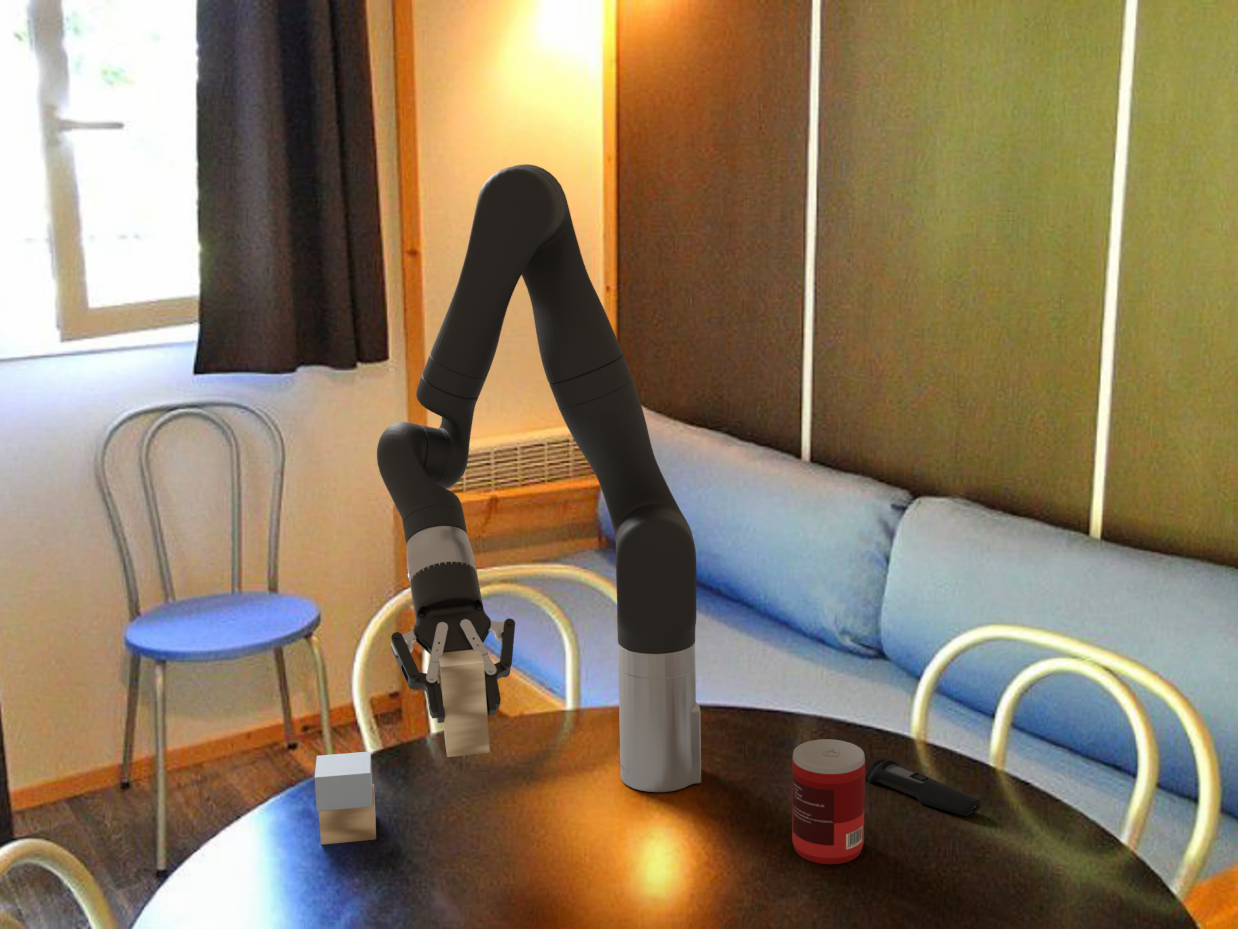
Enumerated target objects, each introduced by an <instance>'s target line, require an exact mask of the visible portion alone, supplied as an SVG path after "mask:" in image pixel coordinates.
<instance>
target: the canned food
mask: <svg viewBox="0 0 1238 929" xmlns="http://www.w3.org/2000/svg"><path fill="white" fill-rule="evenodd" d="M791 770H792V771H791V773H792V774H791V777H792V779H791V780H792V783H791V784H792V785H791V788H792V790H791V793H792V794H791V795H792V796H791V797H792V798H791V800H792V803H791V804H792V807H791V809H792V812H791V813H792V814H791V815H792V820H791V822H792V823H791V824H792V826H791V827H792V829H791V830H792V831H791V832H792V834H791V835H792V838H791V839H792V845H793V848H794V850H795V852H796V854H798V856H799V857H801V858H802V859H804V860H805V861H806V860H807V861H809V862H811V863H815V864H821V865H840V864H845V863H848V862H851V861H853V860H855V859H856V858H858V857H859V856H860V854H862V850H863V846H864V844H865V843H864V842H865V798H866V797H865V796H866V794H865V792H866V791H865V789H866V788H865V787H866V779H865V775H866V759H865V752H864V750H863V749H862V748H861V747H860V746H858V745H856V744H855V743H854V744H853V743H852V742H848V741H844V740H839V739H834V738H833V739H829V738H828V739H827V738H825V739H824V738H823V739H814V740H809V741H805V742H803V743H801V744H799V745H797V746H796V747H795V748H794V749H793V752H792V768H791Z"/></svg>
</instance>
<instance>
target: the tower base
mask: <svg viewBox="0 0 1238 929" xmlns="http://www.w3.org/2000/svg"><path fill="white" fill-rule="evenodd" d="M375 798H376V797H375V784H373V783H372V807H363V808H352V809H340V810H329V811H318V817H319V818H318V819H319V832H320V833H319V834H320V835H319V836H320V845H331V844H341V843H350V842H352V843H353V842H363V841H372V840H377V819H376V818H377V816H376V814H377V813H376V799H375Z"/></svg>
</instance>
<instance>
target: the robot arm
mask: <svg viewBox="0 0 1238 929" xmlns="http://www.w3.org/2000/svg"><path fill="white" fill-rule="evenodd" d="M566 196H567V195H566V193H565V192H564V189H563V186H562V184H561V183H560V182H559V181H558V179H557V178H556V177H555V176H554V175H553V174H552V173H551V171H550V172H549V171H548V170H546V169H544V168H543V167H541V166H538V165H535V164H525V163H524V164H516V165H514V166H510V167H506V168H502V169H500V170H499V171H496V172H495V173H493V174H492V175H491V176H489V177H488V179H487V180H485V182H484V183H483V185H482V187H481V188H480V190H479V192H478V197H477V201H476V206H475V210H474V215H473V219H472V220H473V221H472V225H471V229H470V235H469V238H468V239H469V240H468V244H467V250H466V253H465V257H464V261H463V265H462V268H461V272H460V275H459V279H458V281H457V284H456V288H455V290H454V293H453V296H452V299H451V302H450V303H449V306H448V309H447V310H446V314H445V316H444V319H443V322H442V324H441V325H440V328H439V331H438V333H437V335H436V338H435V340H434V343H433V346H432V348H431V351H430V353H429V356H428V358H427V361H426V363H425V366H424V368H423V371H422V373H421V376H420V379H419V381H418V384H417V388H416V395H415V396H416V399H417V402H419V404H420V405H421V406H423V407H424V408H425V409H426V410H428V411H430V412H431V413H434V414H436V415H438V416H439V417H441V421H440V425H439V427H433V426H427V425H424V424H422V425H421V424H417V423H413V422H407V421H399V422H398V421H397V422H395V423H392V424H391V425H389V426H387V427H386V428H385V430H384V431H382V434H381V435H380V437H379V439H378V442H377V446H376V462H377V466H378V470H379V474H380V476H381V479H382V481H383V483H384V486H385V487H386V489H387V491H388V493H389V495H390V498H391V500H392V501H393V503H394V506H395V508H396V510H397V511H398V513H399V515H400V517H401V519H402V520H401V521H402V528H403V533H404V539H405V545H406V546H405V547H406V567H407V573H408V574H407V579H408V582H409V585H410V586H409V587H410V595H411V600H412V605H413V612H414V613H413V614H414V618H415V624H414V626H413V630H411V631H408V632H405V633H401V632H399V631H397V632H392V634H391V637H390V638H391V639H390V640H391V641H390V649H391V651H392V653H393V656H394V658H395V661H396V662H397V664H398V667H399V669H400V672H401V673H402V676H403V679H404V680H405V682H406V684H407V687H408V688H409V689H411V690H416V689H420V690H423V691H425V693H426V697H427V705H428V711H429V715H430V717H431V719H436V722H437V724H444V719H445V710H444V707H443V698H442V692H441V682H439V678H440V664H439V656H441V655H442V654H443V653H445V652H455V651H465V650H474V651H480V650H481V653H482V657H483V662H484V674H485V689H486V703H487V717H493V716H496V713H497V710H500V705H501V700H502V699H501V693H500V688H499V682H498V680H500V679H501V678H508V677H509V676H510V674H511V667H512V665H513V653H514V643H515V642H514V641H515V632H516V631H515V630H516V621H515V620H514V619H513V618H506V619H505V620H504V621H499V620H498V621H496V620H491V618H490V617H489V615H487V612H486V611H485V609H484V603H483V599H482V593H481V592H482V591H481V587H480V583H479V576H478V572H477V567H476V562H475V561H476V560H475V555H474V552H473V551H474V550H473V549H472V545H471V543H470V539H469V536H468V530H467V525H466V521H465V515H464V514H465V513H464V510H463V506H462V505H463V504H462V502H461V500H460V498H459V497H458V495H457V494H455V493H454V492H453V491H451V490H450V489H449V488H451V487H453V486H455V485H456V484H457V483H458V482H459V481H460V480H461V478H462V477H463V476H464V474H465V472H466V470H467V467H468V464H469V463H468V462H469V454H470V444H471V443H470V442H471V434H472V433H471V432H472V427H473V420H474V413H475V409H476V404H477V401H478V399H479V397H480V394H481V393H482V390H483V387H484V385H485V382H486V380H487V377H488V375H489V372H490V370H491V367H492V364H493V361H494V359H495V355H496V351H497V349H498V344H499V341H500V337H501V334H502V328H503V324H504V320H505V316H506V315H507V311H508V307H509V305H510V301H511V299H512V296H513V294H514V291H515V290H516V287H517V285H518V283H519V280H520V278H522V279H523V281H524V285H525V286H526V289H527V292H528V296H529V299H530V303H531V307H532V313H533V314H532V315H533V320H534V325H535V326H534V327H535V334H536V338H537V345H538V349H539V354H540V359H541V362H542V367H543V371H544V373H545V377H546V380H547V381H548V384H549V387H550V389H551V393H552V395H553V397H554V400H555V401H556V404H557V408H558V410H559V412H560V414H561V416H562V418H563V421H564V422H565V425H566V427H567V429H568V430H569V433H570V434H571V436H572V437H573V440H574V441H575V443H576V445H577V447H578V448H579V450H580V452H581V453H582V455H583V457H584V458H585V459H586V461H587V463H588V464H589V466H590V468H591V469H592V472H593V473H594V474H595V477H596V479H597V482H598V484H599V486H600V489H601V491H602V495H603V498H604V501H605V505H606V507H607V511H608V514H609V518H610V522H611V526H612V531H613V535H614V540H615V574H616V575H615V576H616V577H615V578H616V579H615V580H616V582H615V584H616V624H617V625H616V628H617V657H618V658H617V659H618V660H617V664H618V666H617V667H618V669H617V671H618V710H619V711H618V714H619V715H618V716H619V717H618V718H619V756H620V757H619V766H620V779H621V782H623V784H625V785H626V786H627V787H630V788H632V789H635V790H638V791H644V792H648V793H649V792H652V793H667V792H674V791H678V790H681V789H684V788H686V787H688V786H690V785H693V784H701V783H702V756H701V755H702V754H701V753H702V750H701V748H702V746H701V745H702V742H701V738H702V735H701V734H702V733H701V723H702V722H701V706H699V704H698V703H697V694H696V693H697V689H696V686H697V685H696V681H697V680H696V677H697V676H696V674H697V673H696V672H697V671H696V628H697V627H696V626H697V552H696V544H695V540H694V535H693V532H692V529H691V527H690V524H689V523H688V521H687V519H686V517H685V516H684V514H683V512H682V510H681V508H680V507H679V505H678V503H677V501H676V500H675V498H674V496H673V493H672V491H671V490H670V488H669V486H668V484H667V481H666V479H665V477H664V476H663V473H662V471H661V469H660V466H659V465H658V462H657V458H656V457H655V454H654V450H653V447H652V446H653V445H652V442H651V438H650V434H649V429H648V424H647V421H646V418H645V414H644V409H643V407H642V403H641V400H640V397H639V393H638V390H637V387H636V383H635V381H634V379H633V375H632V374H631V370H630V368H629V366H628V362H627V360H626V357H625V355H624V352H623V350H622V347H621V344H620V343H619V340H618V338H617V336H616V334H615V331H614V328H613V327H612V326H613V325H612V323H611V322H610V319H609V317H608V315H607V313H606V310H605V307H604V305H603V304H602V302H601V300H600V298H599V296H598V293H597V290H596V289H595V286H594V284H593V282H592V281H591V279H590V278H591V277H590V276H589V273H588V270H587V268H586V265H585V262H584V259H583V256H582V251H581V248H580V245H579V241H578V238H577V234H576V230H575V226H574V223H573V218H572V216H571V211H570V206H569V203H568V200H567V197H566ZM489 633H492V634H493V635H494V639H495V641H496V642H498V643H500V646H501V647H500V656H499V661H498V662H496V663H494V662H493V660H492V658H491V657H490V655H489V652H488V650H487V648H486V646H485V645H484V643H485V640H486V639H487V637H488V635H489ZM415 642H416V643H417V644H418V645H419V646H420V647H421V648H423V649H424V650H425V651H426V652H427V654H429V662H428V668H427V671H426V672H421V671H420V670H419V669H418V666H417V664H416V662H415V659H414V657H413V656H412V653H413V649H414V643H415Z"/></svg>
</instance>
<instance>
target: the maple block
mask: <svg viewBox="0 0 1238 929" xmlns="http://www.w3.org/2000/svg"><path fill="white" fill-rule="evenodd" d="M439 664H440V674H439V678H440V680H439V681H440V685H441V692H442V698H443V707H444V710H445V719H444V722H443V733H444V743H445V751H446V758H451V757H459V756H460V757H461V756H468V755H469V756H470V755H477V754H480V755H481V754H487V753H491V750H490V735H489V734H490V733H489V721H488V720H489V718H488V713H487V703H486V689H485V674H484V662H483V657H482V653H481V650H480V651H474V650H465V651H455V652H445V653H443V654H442V655H441V656H439Z"/></svg>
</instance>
